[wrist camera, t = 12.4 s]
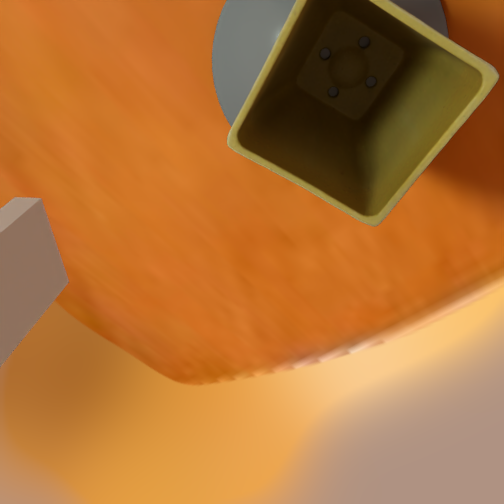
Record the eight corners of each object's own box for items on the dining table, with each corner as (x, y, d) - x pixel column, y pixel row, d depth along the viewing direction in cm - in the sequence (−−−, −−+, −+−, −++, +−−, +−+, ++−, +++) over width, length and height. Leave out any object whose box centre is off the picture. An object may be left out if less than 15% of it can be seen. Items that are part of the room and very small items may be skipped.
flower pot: (462, 36, 26) (507, 75, 19) (369, 162, 31) (375, 232, 24) (328, -51, 25) (319, -46, 18) (252, 93, 30) (221, 145, 22)
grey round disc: (223, 172, 34) (221, 174, 33) (202, -62, 26) (200, -62, 26) (427, 177, 31) (428, 180, 31) (470, -79, 24) (472, -79, 23)
